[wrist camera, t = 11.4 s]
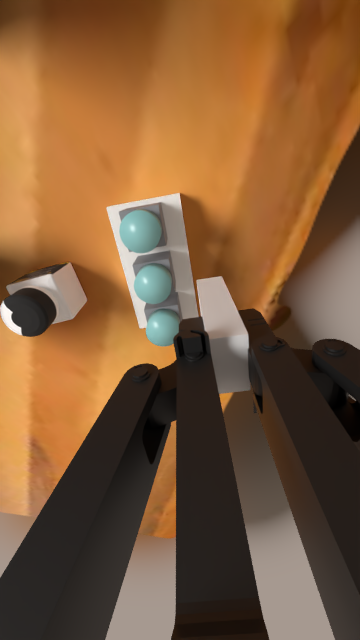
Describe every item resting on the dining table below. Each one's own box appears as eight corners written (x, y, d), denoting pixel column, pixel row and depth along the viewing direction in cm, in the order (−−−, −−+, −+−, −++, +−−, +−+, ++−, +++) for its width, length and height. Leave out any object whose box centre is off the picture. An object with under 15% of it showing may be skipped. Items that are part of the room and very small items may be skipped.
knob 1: (135, 243, 37) (125, 256, 31) (126, 209, 35) (114, 214, 29) (166, 238, 37) (164, 249, 30) (160, 202, 35) (155, 207, 28)
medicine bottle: (70, 260, 42) (32, 286, 31) (88, 300, 45) (60, 336, 34) (30, 271, 43) (-21, 300, 32) (50, 310, 46) (11, 348, 35)
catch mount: (142, 320, 47) (135, 344, 39) (111, 205, 38) (95, 210, 31) (197, 311, 46) (201, 335, 39) (179, 192, 37) (179, 194, 30)
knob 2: (145, 286, 40) (138, 306, 34) (138, 256, 38) (129, 272, 31) (175, 281, 40) (174, 300, 33) (169, 251, 38) (167, 265, 31)
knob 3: (154, 322, 43) (149, 348, 36) (148, 297, 41) (142, 319, 34) (182, 318, 43) (182, 343, 36) (177, 292, 41) (176, 314, 34)
